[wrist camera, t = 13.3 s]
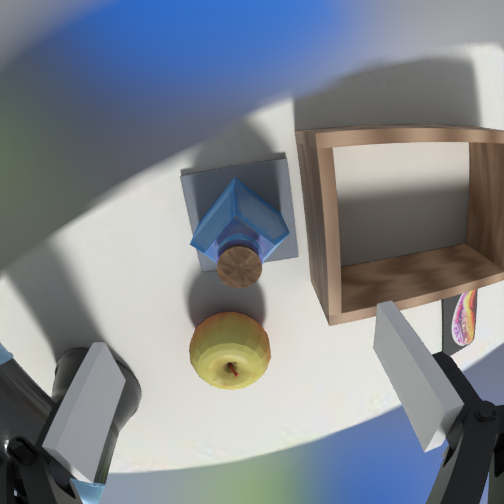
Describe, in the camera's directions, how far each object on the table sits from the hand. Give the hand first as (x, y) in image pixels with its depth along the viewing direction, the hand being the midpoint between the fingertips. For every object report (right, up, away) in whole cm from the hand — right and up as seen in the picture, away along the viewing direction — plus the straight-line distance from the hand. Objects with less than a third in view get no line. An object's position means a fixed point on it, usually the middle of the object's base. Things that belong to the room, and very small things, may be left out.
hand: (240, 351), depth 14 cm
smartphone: (+34, -6, +28) cm, 45 cm away
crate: (+18, +11, +19) cm, 28 cm away
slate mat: (-1, +8, +19) cm, 21 cm away
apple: (-2, -6, +26) cm, 26 cm away
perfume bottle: (-1, +8, +19) cm, 21 cm away
